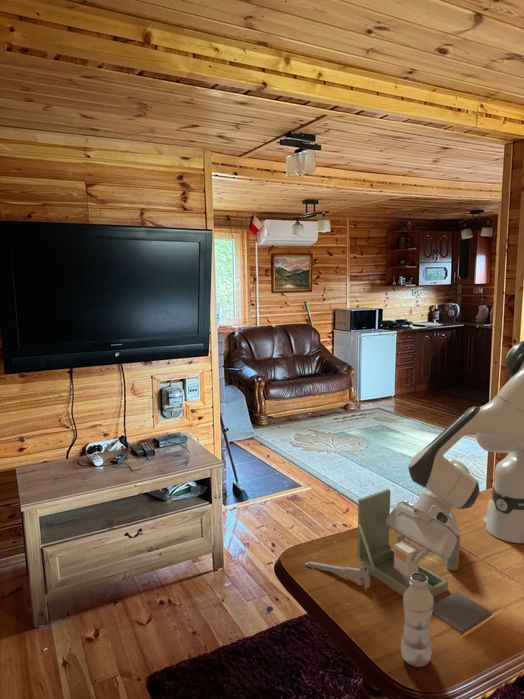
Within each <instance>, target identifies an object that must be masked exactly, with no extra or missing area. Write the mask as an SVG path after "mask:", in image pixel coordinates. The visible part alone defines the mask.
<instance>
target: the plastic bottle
mask: <svg viewBox="0 0 524 699" xmlns="http://www.w3.org/2000/svg"><path fill="white" fill-rule="evenodd" d="M402 602H403V610H404V611H403V612H404V627H403V635H402V638H401V643H400V652H401V656H402V659H404V662H406V663H407V664H408V665H409V666H412V667H417V668H421V667H424V666H426V665H428V663H429V662H430V661H431V658H432V654H433V653H432V652H433V651H432V642H431V632H430V631H431V622H432V615H433V613H432V611H433V607H434V604H435V601H434V598H433V596H432V594H431V592H430V591H429V590H428V577H427V576H426V575H425V574H423V573H418V572H416V573H412V574H411V576H410V586H409V587H408V588H407V590H406V591H405V593H404V595H403V596H402Z"/></svg>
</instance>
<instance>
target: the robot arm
mask: <svg viewBox="0 0 524 699" xmlns="http://www.w3.org/2000/svg"><path fill="white" fill-rule="evenodd" d="M504 368H505V371H506V372H507V377H508V378H509V379H508V381H506V383H505V384H504V385H503V386H502V387H501V388H500V390H499V391H498V392H497V394H496V395H494V397H493V398H492V399H491V400H490V401H489V402H487V403H485V404H484V405H482V406H472V407H469V408H468V409H467V410H465V411H464V412H463V413H461V414H459V416H458V417H457V418H456V419H454V421H453V422H451V423H450V424H449V425H448V426H447V427H446V428H445V429H444V430H443V431H442V432H441V433H440V434H439V435H437V436H436V437H435V438H434V439H433V440H432V441H431V442H430V443H429V444H428V445H426V446H425V447H424V448H423V449H422V450H420V451H418V452H417V453H416V454H415V455H414V456H413V457H412V458H411V460H410V463H409V464H408V466H407V467H408V473H409V476H410V478H411V481H412V482H414V483H415V484H417V485H418V486H421V487H422V488H425V490H424V491H422V492H421V494H420V496H419V498H418V499H417V501H416V502H415V504H413V503H410V502H409V501H407V500H402V501H399V502H398V503H397V504H396V506H395V507H394V509H392V510H391V511H390V514H389V516H388V517H387V519H386V525H387V526H388V527H389V530H392V531H393V532H395V533H396V534H395V537H394V538H395V539H394V540H395V541H394V542H395V543H394V545H393V547H392V548H393V549H394V546H395V544H397V543H400V542H402V541H404V539H407V540H408V541H410V542H412V543H414V544H416V545H417V546H420V547H421V548H420V551H419V553H418V554H417V555H416V554H413V557H412V558H411V560H412V561H413V562H415V563H416V564H420V563H421V562H420V561H421V560H422V559H424V558H426V557H428V556H429V554H430V553H432V554H433V555H435V556H436V557H438V558H440V559H442V560H444V561H445V559H448V558H449V557H450V555H451V554H452V552H453V550H454V547H455V545H456V542H457V538H456V536H458V535H459V536H460V533H461V531H462V530H461V528H460V527H459V526H458V524H457V522H456V523H455V522H454V521H453V520H452V519H451V518H450V517H449V514H450V512H451V510H452V508H455V509H458V510H465V509H470V508H471V507H473V505H474V504H475V503H476V500H477V499H478V497H479V495H480V485H479V482H478V480H477V479H476V478H475V477H474V476H472V474H471V473H470V470H469V468H468V467H467V466H466V465H465V464H463V462H460V461H458V460H455V459H450V458H448V459H447V458H445V456H444V455H445V454H446V453H447V452H448V451H449V450H450V449H452V448H453V446H455V445H456V444H457V443H458V442H459V441H461V439H462V438H463V437H465V436H467V435H469V434H475V438H476V439H475V440H476V441H477V444H478V445H479V446H480V447H481V449H483V450H484V451H486V452H492V453H500V454H503V453H508V454H507V455H506V456H505V457H504V458H503V459H501V460H500V461H498V462H497V464H496V466H495V468H494V469H495V471H494V485H493V487H492V491H491V499H489V501H488V504H487V512H486V516H484V517H483V519H482V522H483V523H484V524H485V528H486V531H488V533H489V534H490V535H491V536H493V537H495V538H497V539H499V540H501V541H502V540H503V541H505V542H509V543H515V544H524V340H522V341H519V342H517V343H516V344H515V345H513V346H512V347H511V348H510V349H509V350H508V352H507V354H506V356H505V360H504ZM456 524H457V525H456ZM455 535H456V536H455Z"/></svg>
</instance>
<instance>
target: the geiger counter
mask: <svg viewBox="0 0 524 699" xmlns="http://www.w3.org/2000/svg"><path fill="white" fill-rule="evenodd" d="M449 517H450V518H451V519H452V520H453V521H454V522H455V523H456V525H457V526H458V523H457V521H456V519H455V517H456V515H455V514H454V512H453V511H452V509H451V512H450V514H449ZM455 536H456V535H455ZM456 538H457V542H456V545H455V547H454V550H453V552H452V554H451V555H450V557H449V558H448V559H445V560H444V563H445V567H446V570H449V571H453V572H455V571H459V564H460V563H461V561H460V546H461V543H460V542H461V536H460V534H459V535H458V536H456Z"/></svg>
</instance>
